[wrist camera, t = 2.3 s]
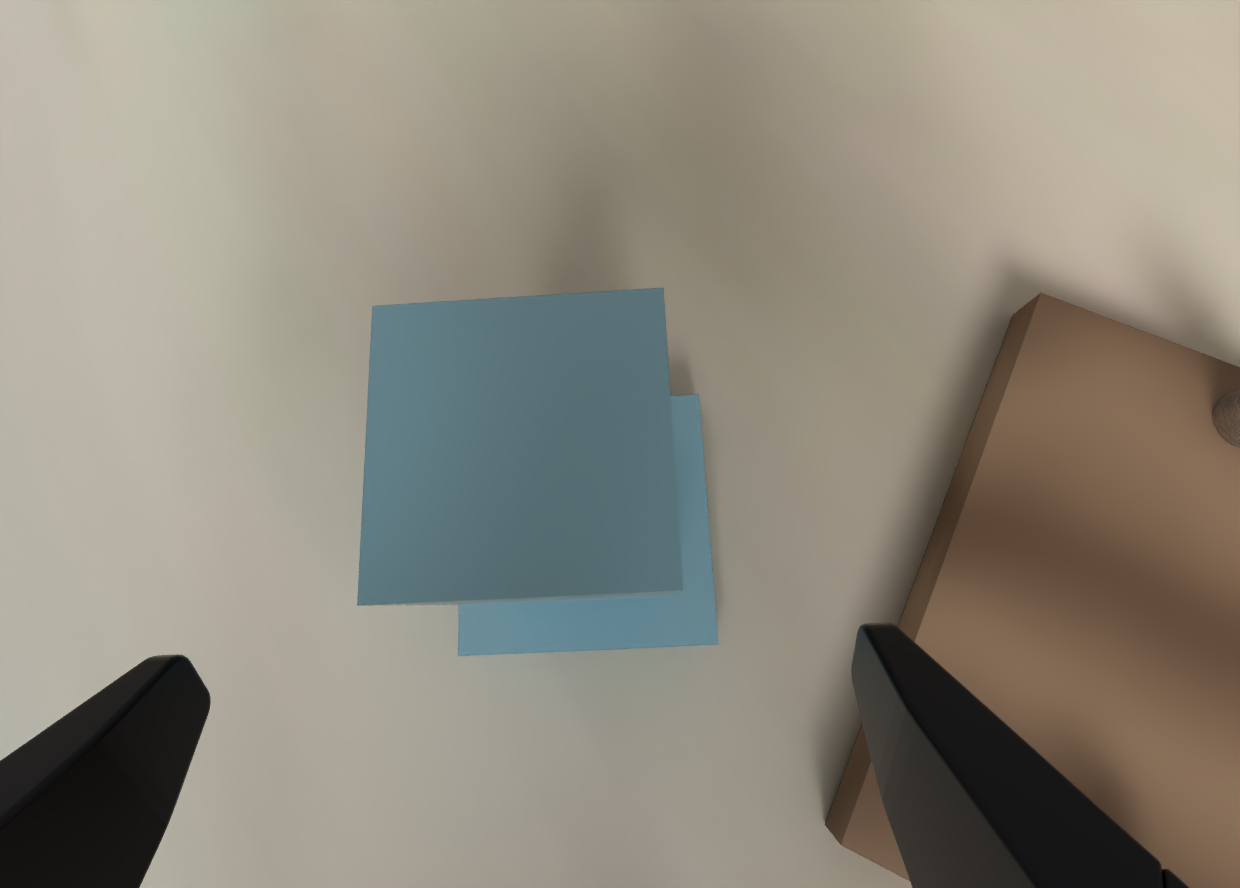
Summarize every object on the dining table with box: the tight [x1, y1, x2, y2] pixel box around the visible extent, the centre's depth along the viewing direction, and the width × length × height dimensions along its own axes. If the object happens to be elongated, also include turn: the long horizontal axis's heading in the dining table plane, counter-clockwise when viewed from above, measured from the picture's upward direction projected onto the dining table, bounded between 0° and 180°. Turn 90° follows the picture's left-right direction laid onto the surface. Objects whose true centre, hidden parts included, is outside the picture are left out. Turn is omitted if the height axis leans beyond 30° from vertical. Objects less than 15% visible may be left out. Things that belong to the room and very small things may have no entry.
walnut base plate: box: [825, 293, 1240, 888], centre depth 17 cm, size 16×12×2 cm
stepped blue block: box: [357, 288, 718, 656], centre depth 14 cm, size 7×7×10 cm
